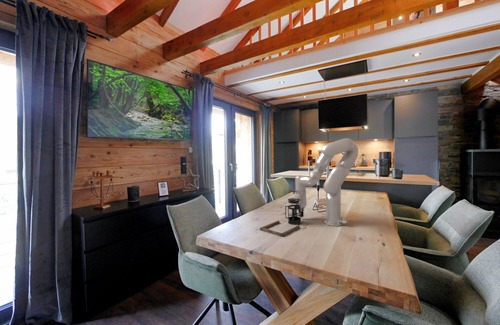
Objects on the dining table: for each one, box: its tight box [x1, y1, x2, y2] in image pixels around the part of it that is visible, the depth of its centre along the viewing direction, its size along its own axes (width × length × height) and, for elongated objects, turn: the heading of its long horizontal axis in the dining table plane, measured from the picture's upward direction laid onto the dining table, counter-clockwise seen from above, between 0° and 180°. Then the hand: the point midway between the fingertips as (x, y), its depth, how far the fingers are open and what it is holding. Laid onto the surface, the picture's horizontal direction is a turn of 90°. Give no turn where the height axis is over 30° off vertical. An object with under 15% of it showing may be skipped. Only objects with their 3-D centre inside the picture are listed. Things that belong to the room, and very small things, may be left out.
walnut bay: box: [259, 220, 301, 238], centre depth 142 cm, size 18×20×2 cm
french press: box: [284, 190, 302, 226], centre depth 154 cm, size 12×9×23 cm
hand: (301, 216), depth 161 cm, fingers closed
